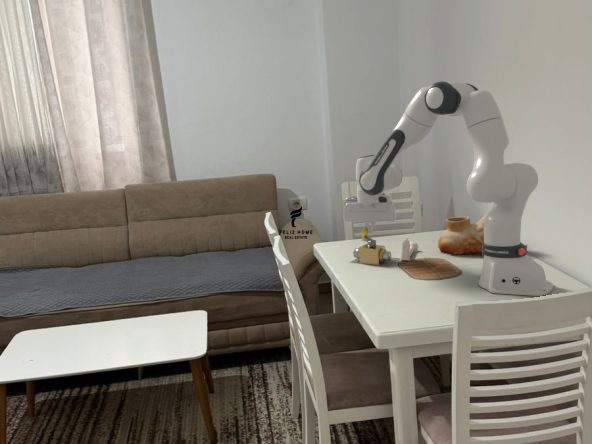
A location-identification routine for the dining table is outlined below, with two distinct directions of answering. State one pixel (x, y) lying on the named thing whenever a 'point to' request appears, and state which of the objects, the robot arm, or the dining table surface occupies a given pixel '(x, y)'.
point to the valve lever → (367, 238)
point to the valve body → (372, 254)
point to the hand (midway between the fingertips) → (370, 232)
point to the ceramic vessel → (462, 237)
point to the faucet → (408, 249)
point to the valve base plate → (380, 264)
